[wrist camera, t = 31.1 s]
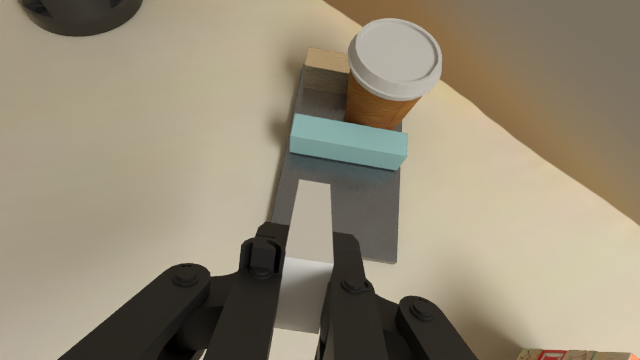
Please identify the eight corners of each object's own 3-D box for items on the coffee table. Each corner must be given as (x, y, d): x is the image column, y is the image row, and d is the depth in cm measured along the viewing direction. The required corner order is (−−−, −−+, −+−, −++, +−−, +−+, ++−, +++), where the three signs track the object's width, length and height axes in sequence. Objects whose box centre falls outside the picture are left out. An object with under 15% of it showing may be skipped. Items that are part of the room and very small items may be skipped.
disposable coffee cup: (340, 84, 45) (360, 5, 34) (409, 102, 45) (450, 29, 34) (324, 142, 41) (341, 72, 30) (399, 162, 41) (443, 100, 30)
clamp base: (393, 264, 37) (409, 254, 32) (267, 243, 36) (265, 231, 32) (401, 86, 48) (413, 60, 43) (303, 68, 47) (305, 40, 42)
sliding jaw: (396, 170, 40) (407, 156, 37) (289, 151, 40) (290, 135, 37) (397, 149, 42) (407, 133, 38) (293, 130, 41) (295, 113, 38)
